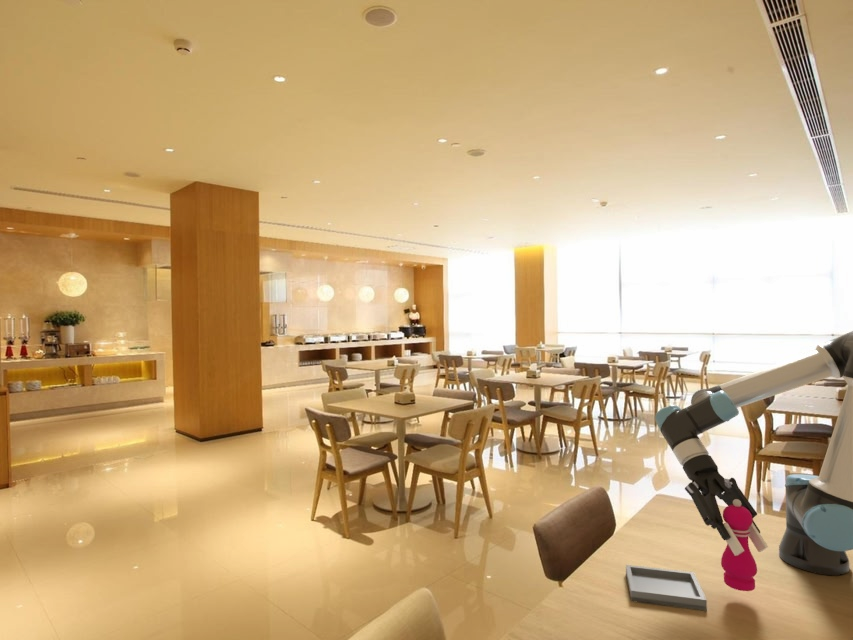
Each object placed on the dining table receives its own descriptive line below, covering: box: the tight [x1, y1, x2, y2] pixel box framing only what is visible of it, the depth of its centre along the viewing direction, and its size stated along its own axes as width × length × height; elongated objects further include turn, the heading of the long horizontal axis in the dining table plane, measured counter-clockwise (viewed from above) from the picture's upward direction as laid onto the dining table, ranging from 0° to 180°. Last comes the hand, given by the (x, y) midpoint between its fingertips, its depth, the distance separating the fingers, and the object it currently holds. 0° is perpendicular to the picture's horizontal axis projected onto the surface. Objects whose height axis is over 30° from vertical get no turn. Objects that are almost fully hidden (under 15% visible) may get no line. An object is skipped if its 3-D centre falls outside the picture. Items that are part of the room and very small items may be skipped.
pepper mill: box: [720, 499, 758, 592], centre depth 119 cm, size 7×7×20 cm
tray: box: [625, 564, 708, 612], centre depth 124 cm, size 16×13×2 cm
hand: (751, 551), depth 116 cm, fingers closed on pepper mill, 6 cm apart
